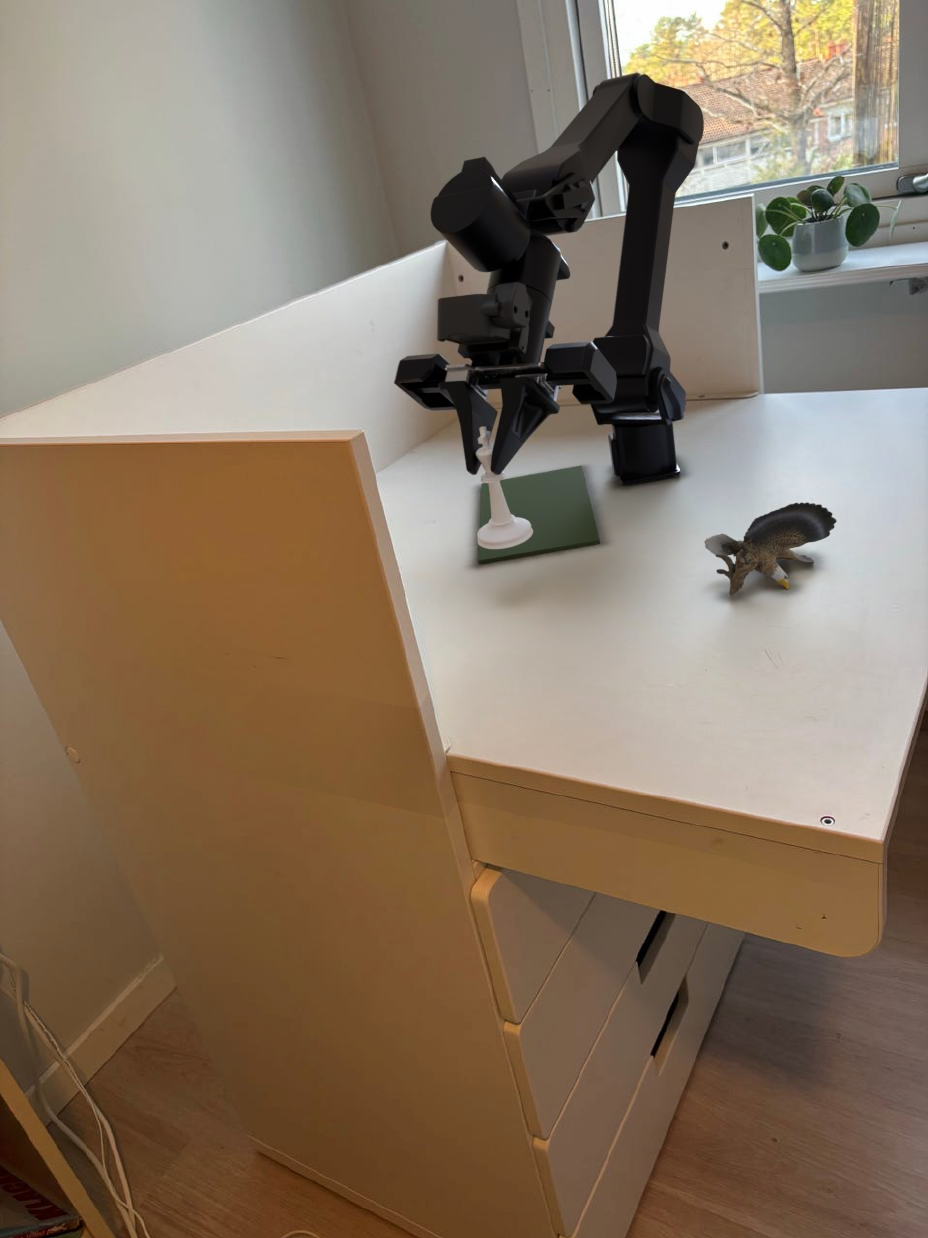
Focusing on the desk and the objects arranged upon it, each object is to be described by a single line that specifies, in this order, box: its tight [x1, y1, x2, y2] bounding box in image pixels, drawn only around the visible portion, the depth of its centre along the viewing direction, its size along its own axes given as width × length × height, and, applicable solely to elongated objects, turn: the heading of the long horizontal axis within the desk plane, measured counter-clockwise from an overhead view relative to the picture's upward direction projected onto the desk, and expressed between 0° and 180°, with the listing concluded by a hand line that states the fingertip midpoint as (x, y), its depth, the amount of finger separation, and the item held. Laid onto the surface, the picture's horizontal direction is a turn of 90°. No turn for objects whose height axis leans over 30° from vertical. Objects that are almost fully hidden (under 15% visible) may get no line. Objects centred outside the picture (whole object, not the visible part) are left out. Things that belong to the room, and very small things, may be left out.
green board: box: [477, 465, 601, 565], centre depth 100 cm, size 12×22×1 cm, turn 178°
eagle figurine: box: [703, 502, 838, 597], centre depth 76 cm, size 8×7×9 cm
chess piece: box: [476, 427, 533, 549], centre depth 79 cm, size 5×5×10 cm
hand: (482, 473), depth 77 cm, fingers closed on chess piece
